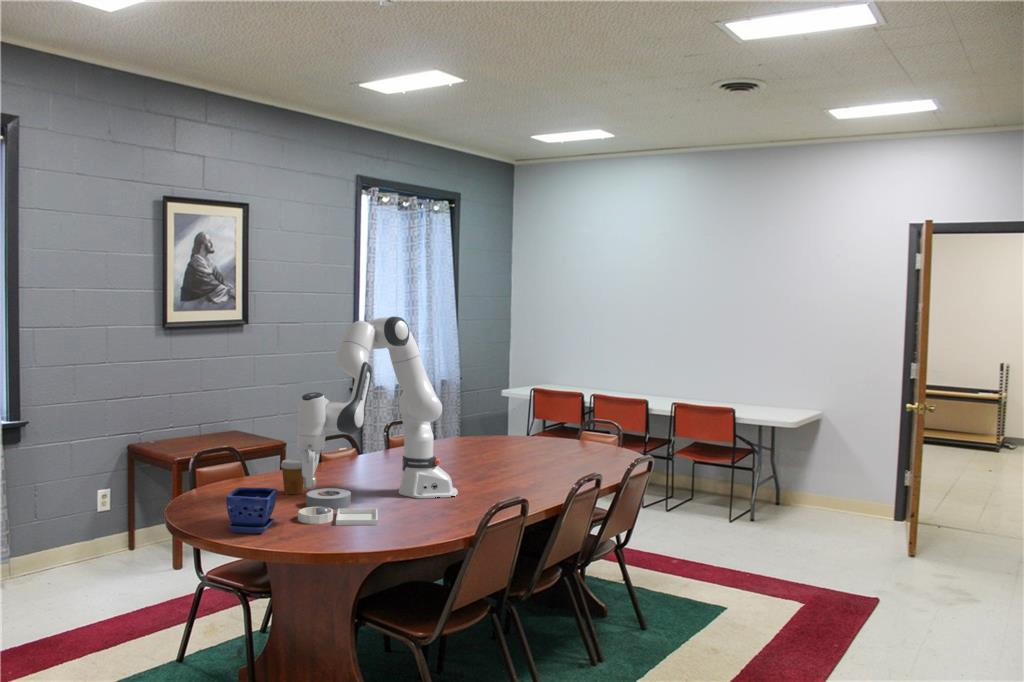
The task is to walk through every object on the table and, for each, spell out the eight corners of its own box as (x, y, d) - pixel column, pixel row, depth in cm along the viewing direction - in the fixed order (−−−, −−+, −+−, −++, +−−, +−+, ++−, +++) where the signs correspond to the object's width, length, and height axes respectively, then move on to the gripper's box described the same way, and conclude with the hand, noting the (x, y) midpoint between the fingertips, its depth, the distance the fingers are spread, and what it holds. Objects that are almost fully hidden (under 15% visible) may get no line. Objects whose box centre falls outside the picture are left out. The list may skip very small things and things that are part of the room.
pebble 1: (316, 486, 274) (316, 475, 274) (315, 488, 270) (315, 478, 270) (303, 486, 273) (304, 475, 273) (302, 488, 269) (303, 478, 269)
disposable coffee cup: (311, 491, 313) (311, 460, 312) (298, 497, 304) (298, 464, 303) (288, 489, 316) (289, 457, 315) (275, 494, 306) (275, 462, 306)
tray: (377, 515, 283) (377, 508, 283) (377, 527, 269) (377, 520, 269) (337, 515, 281) (338, 508, 281) (335, 527, 267) (335, 520, 266)
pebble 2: (328, 517, 275) (329, 507, 275) (327, 520, 271) (327, 510, 271) (316, 517, 275) (316, 506, 274) (315, 520, 271) (315, 510, 270)
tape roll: (306, 513, 283) (307, 498, 283) (305, 502, 298) (305, 488, 297) (352, 512, 287) (353, 497, 287) (348, 501, 302) (349, 487, 302)
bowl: (333, 517, 279) (334, 506, 279) (331, 526, 268) (332, 515, 268) (299, 517, 277) (300, 506, 277) (296, 526, 266) (297, 515, 266)
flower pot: (278, 524, 268) (279, 487, 267) (267, 536, 255) (268, 497, 254) (236, 523, 268) (237, 486, 267) (223, 534, 254) (224, 496, 254)
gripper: (318, 448, 261) (317, 492, 262) (323, 437, 281) (321, 478, 282) (297, 448, 260) (296, 492, 261) (303, 437, 280) (302, 478, 281)
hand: (309, 484), depth 272 cm, fingers closed on pebble 1, 4 cm apart
